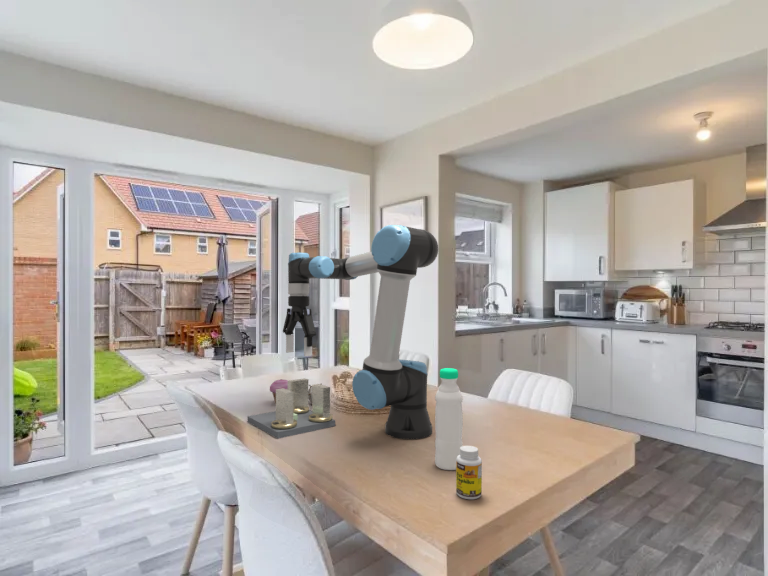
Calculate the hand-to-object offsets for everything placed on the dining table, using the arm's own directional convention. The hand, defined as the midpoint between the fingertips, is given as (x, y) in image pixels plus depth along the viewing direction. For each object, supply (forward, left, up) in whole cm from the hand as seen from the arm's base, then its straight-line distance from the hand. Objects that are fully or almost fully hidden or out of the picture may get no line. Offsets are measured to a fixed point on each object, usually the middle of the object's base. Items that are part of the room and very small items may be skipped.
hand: (298, 354), depth 160 cm
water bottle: (-66, -7, -23) cm, 70 cm away
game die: (+11, -14, -23) cm, 29 cm away
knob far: (-1, +1, -20) cm, 20 cm away
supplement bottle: (-80, +2, -23) cm, 83 cm away
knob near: (-14, +13, -20) cm, 27 cm away
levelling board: (-7, +7, -22) cm, 24 cm away
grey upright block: (-15, 0, -20) cm, 25 cm away
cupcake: (+20, -3, -23) cm, 31 cm away
